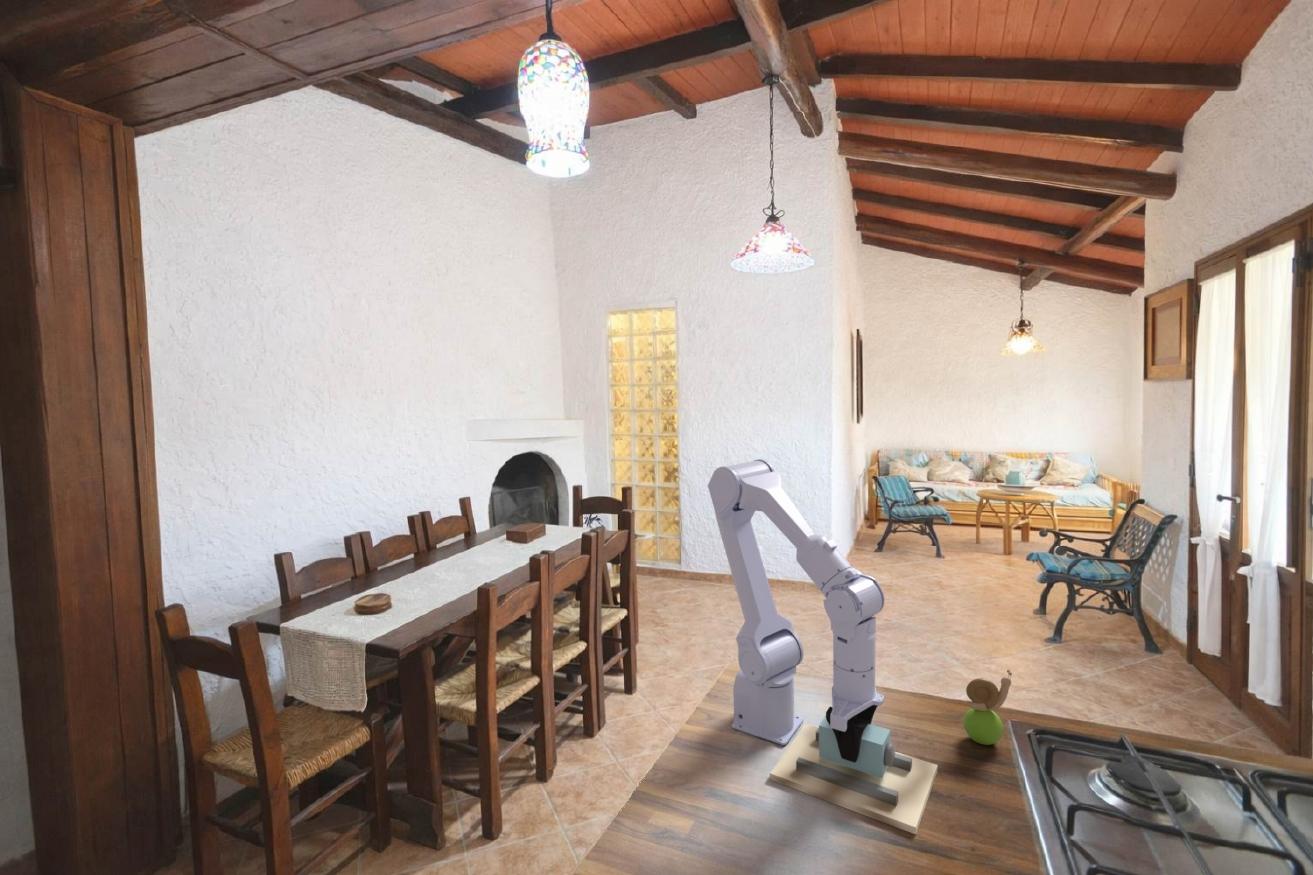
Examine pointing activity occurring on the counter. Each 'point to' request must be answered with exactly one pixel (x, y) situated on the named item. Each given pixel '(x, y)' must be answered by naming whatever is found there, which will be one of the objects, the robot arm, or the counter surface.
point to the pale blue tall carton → (872, 749)
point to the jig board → (858, 782)
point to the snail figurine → (985, 709)
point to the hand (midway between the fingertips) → (853, 750)
